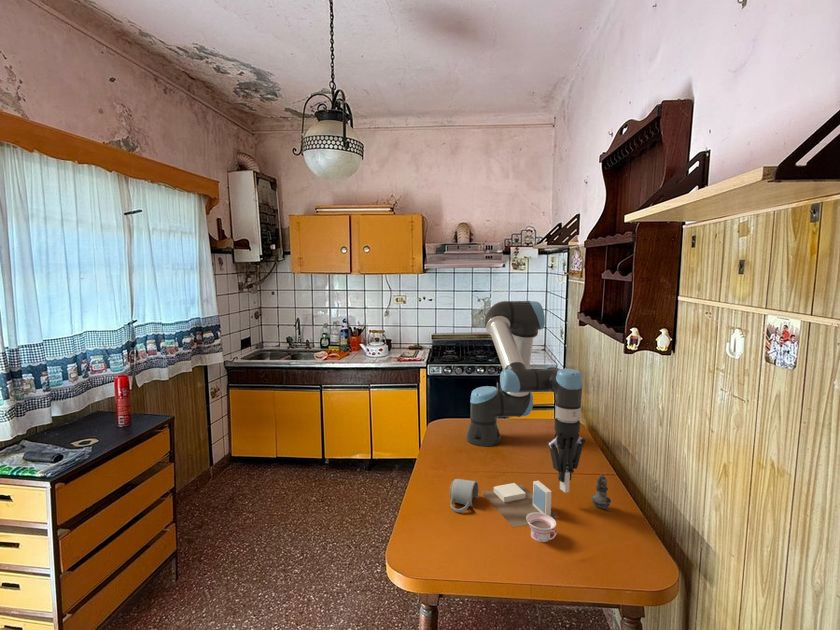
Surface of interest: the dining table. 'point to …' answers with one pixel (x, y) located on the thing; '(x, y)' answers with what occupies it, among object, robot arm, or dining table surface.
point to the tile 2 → (542, 498)
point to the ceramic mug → (463, 493)
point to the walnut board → (514, 507)
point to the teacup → (541, 526)
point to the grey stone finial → (601, 494)
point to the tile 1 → (509, 492)
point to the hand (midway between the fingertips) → (564, 490)
